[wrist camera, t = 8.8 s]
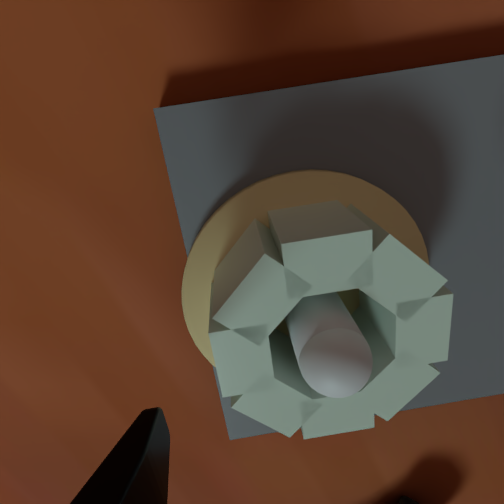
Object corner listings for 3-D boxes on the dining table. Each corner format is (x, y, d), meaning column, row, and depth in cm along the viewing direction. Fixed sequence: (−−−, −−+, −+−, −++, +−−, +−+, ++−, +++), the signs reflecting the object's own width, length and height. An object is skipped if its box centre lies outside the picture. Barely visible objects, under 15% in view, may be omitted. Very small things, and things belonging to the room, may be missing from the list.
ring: (404, 189, 12) (460, 216, 9) (400, 356, 14) (442, 416, 12) (198, 221, 12) (191, 258, 9) (232, 383, 14) (234, 451, 12)
